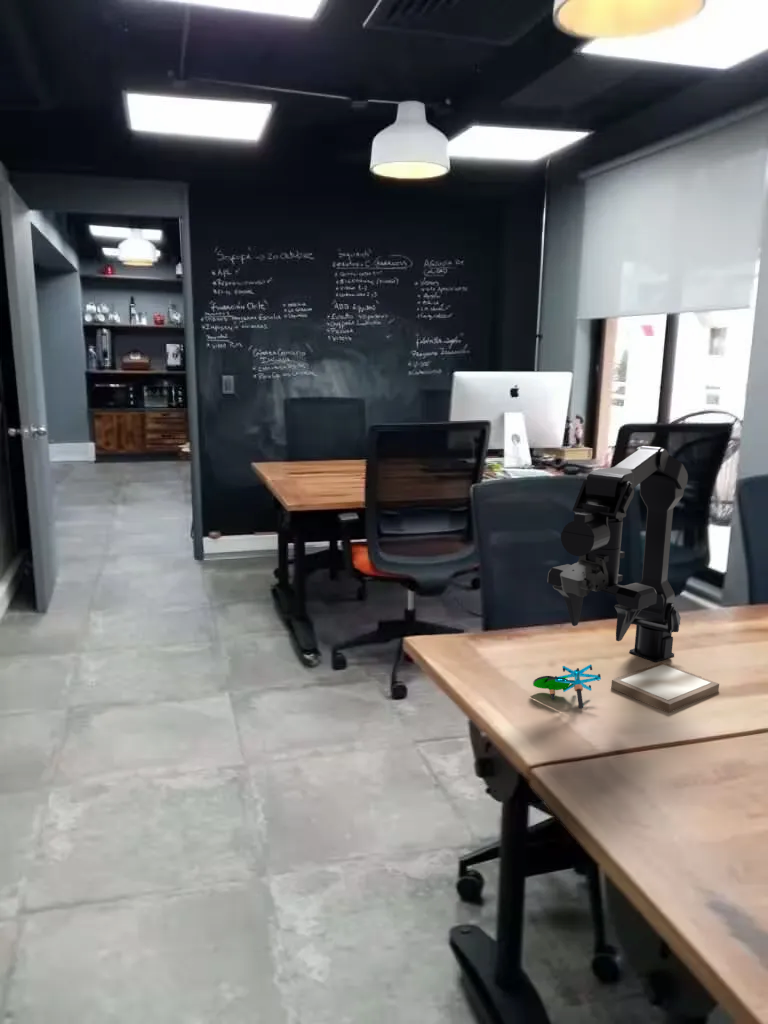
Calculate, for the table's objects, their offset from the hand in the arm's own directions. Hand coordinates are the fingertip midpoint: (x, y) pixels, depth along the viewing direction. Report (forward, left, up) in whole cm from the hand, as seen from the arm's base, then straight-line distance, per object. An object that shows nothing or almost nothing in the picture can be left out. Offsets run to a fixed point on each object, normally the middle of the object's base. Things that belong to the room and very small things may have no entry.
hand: (596, 632), depth 132 cm
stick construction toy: (-2, -2, -13) cm, 13 cm away
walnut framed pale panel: (+5, +14, -12) cm, 19 cm away
